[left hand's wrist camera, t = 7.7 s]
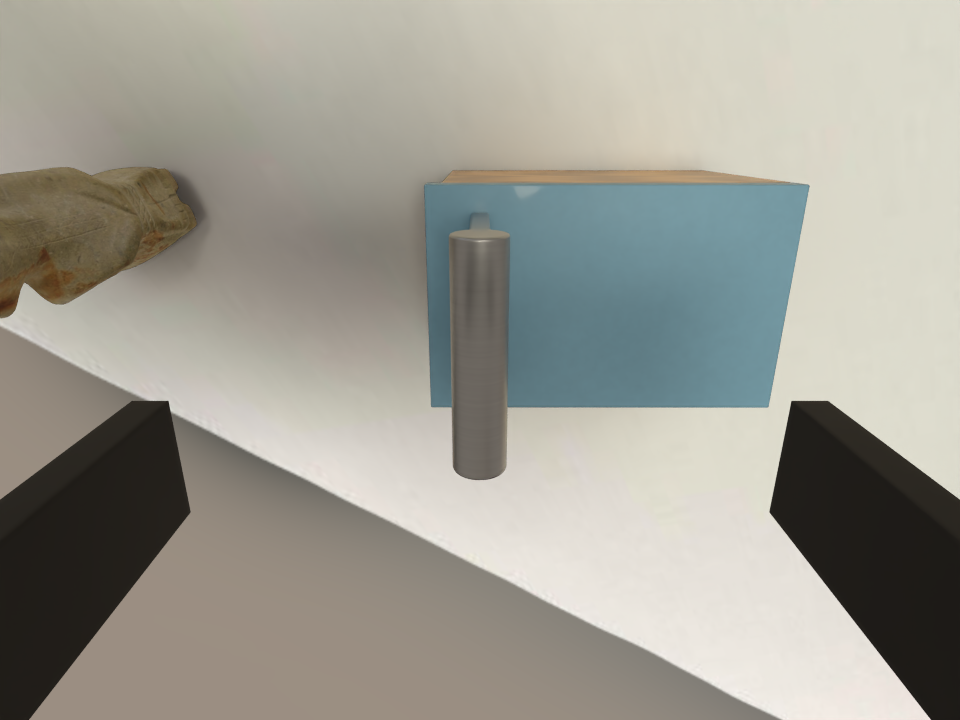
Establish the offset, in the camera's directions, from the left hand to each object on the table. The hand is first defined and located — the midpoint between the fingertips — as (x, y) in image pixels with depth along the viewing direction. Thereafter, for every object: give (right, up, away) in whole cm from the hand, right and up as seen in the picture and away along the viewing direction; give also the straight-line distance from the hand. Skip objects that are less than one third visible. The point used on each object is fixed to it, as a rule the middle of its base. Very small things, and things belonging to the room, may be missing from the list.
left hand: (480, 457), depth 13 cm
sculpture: (-20, +11, +22) cm, 31 cm away
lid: (+5, +5, +13) cm, 15 cm away
